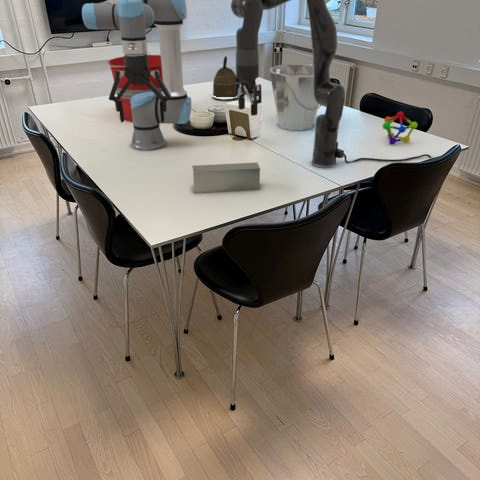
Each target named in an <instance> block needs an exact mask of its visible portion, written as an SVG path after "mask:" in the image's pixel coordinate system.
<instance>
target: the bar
mask: <svg viewBox="0 0 480 480" xmlns="http://www.w3.org/2000/svg"><path fill="white" fill-rule="evenodd" d="M192 179H193V193H194V194H201V193H203V194H204V193H219V192H237V191H253V190H260V187H261V186H260V184H261V183H260V181H261V167H260V165H259V162H239V163H219V164H218V163H217V164H200V165H199V164H198V165H192Z"/></svg>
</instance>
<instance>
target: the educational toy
mask: <svg viewBox="0 0 480 480" xmlns="http://www.w3.org/2000/svg"><path fill="white" fill-rule="evenodd" d="M397 119H399V124H400V125H399V127H398V126H393V125H391V124H392V123H394V122H395V121H396V120H397ZM403 120H404V121H405V122H407V123H408V124H409V125H407V126H404V123H403ZM417 127H418V122H417V121H411V120H410V119H409V118H408V117H406V116H405V113H404V112H403V111H401V110H400V111H398V112H397V114H396V115H394V116H391V117H390V116H386V117H385V118H384V122H383V123H382V129H383V130H386V132H387V138H388V142H389V145H395V144H396V143H397V142H402V141H403V142H404V143H409V142H410V140H411V138H410V136H411V134H412V132H413V131H414V130H415V129H417ZM392 129H393V130H397V131H398V132H396V134H395V133H394V132H392ZM408 129H409V131H408V133H407V134H406V135H404V136H401V134H403V133H405V132H406V130H408ZM399 135H400V136H399Z"/></svg>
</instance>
